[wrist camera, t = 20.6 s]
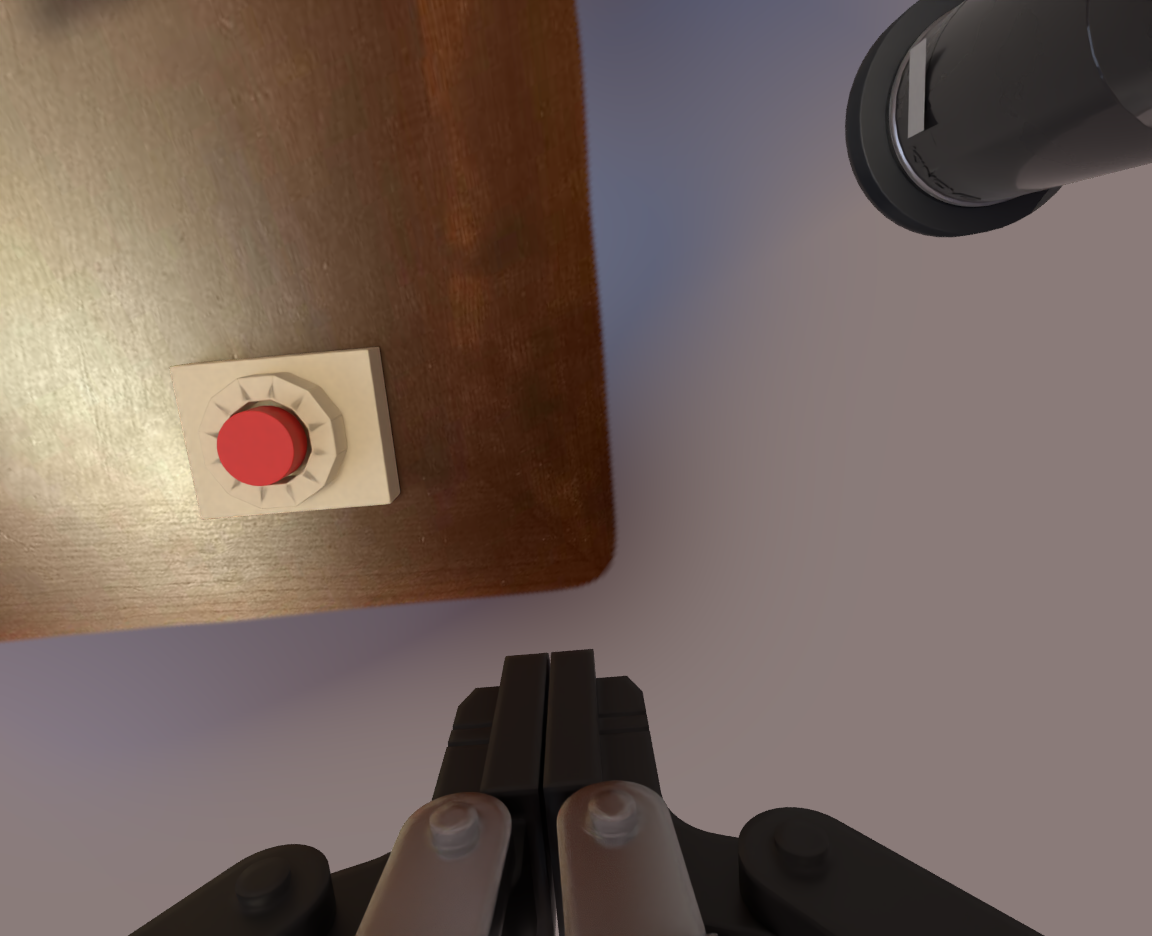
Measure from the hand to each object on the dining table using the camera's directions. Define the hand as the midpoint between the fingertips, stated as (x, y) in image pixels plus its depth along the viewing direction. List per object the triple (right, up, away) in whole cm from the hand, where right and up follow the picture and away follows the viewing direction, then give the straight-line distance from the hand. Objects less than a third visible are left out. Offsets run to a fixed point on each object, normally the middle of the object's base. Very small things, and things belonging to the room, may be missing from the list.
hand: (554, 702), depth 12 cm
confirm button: (-15, +5, +23) cm, 28 cm away
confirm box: (-15, +6, +26) cm, 31 cm away
